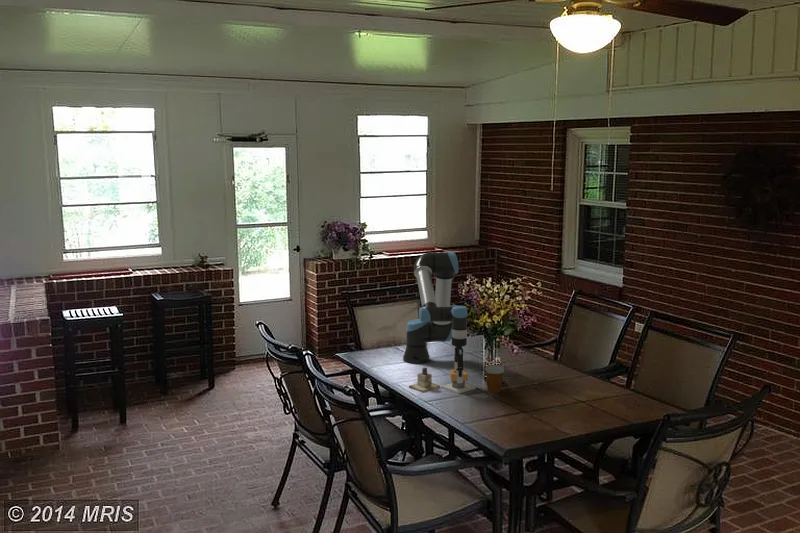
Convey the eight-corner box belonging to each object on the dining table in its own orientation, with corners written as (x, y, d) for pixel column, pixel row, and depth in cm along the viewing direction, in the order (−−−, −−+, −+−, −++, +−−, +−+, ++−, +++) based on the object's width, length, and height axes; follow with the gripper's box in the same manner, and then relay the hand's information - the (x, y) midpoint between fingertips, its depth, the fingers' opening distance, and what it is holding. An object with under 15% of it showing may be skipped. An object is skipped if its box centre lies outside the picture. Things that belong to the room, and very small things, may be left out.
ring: (449, 376, 371) (450, 369, 371) (465, 376, 371) (465, 369, 371) (451, 381, 363) (451, 374, 363) (467, 381, 363) (467, 374, 363)
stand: (426, 382, 377) (426, 364, 375) (440, 387, 369) (440, 368, 368) (408, 387, 369) (409, 368, 367) (422, 392, 361) (422, 372, 360)
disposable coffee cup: (503, 394, 359) (503, 370, 357) (483, 393, 361) (484, 369, 359) (504, 388, 368) (505, 365, 367) (485, 387, 370) (485, 364, 368)
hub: (458, 383, 376) (458, 364, 375) (475, 388, 367) (475, 369, 366) (441, 388, 369) (441, 368, 367) (458, 393, 360) (458, 374, 358)
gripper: (449, 331, 376) (448, 371, 379) (453, 343, 352) (453, 386, 355) (464, 331, 377) (463, 371, 380) (469, 343, 352) (468, 386, 355)
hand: (458, 378), depth 367 cm, fingers open, 13 cm apart
